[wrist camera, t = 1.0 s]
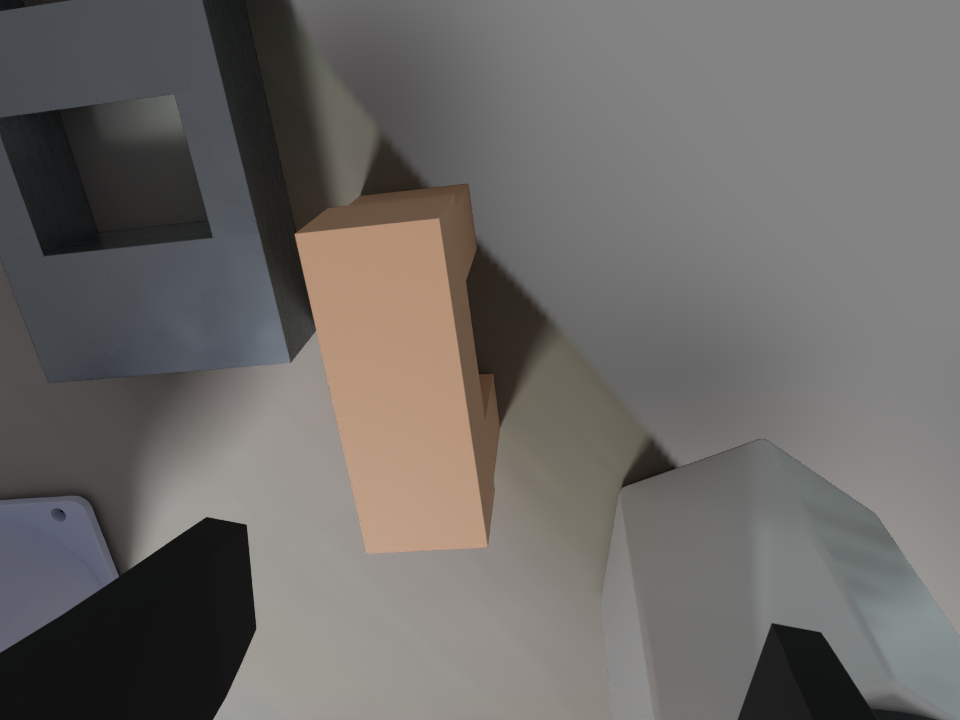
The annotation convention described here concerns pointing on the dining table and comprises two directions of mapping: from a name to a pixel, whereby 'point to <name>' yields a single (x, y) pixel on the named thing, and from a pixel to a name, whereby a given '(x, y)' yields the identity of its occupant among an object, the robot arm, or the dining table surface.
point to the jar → (762, 592)
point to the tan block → (405, 365)
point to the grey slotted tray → (152, 250)
